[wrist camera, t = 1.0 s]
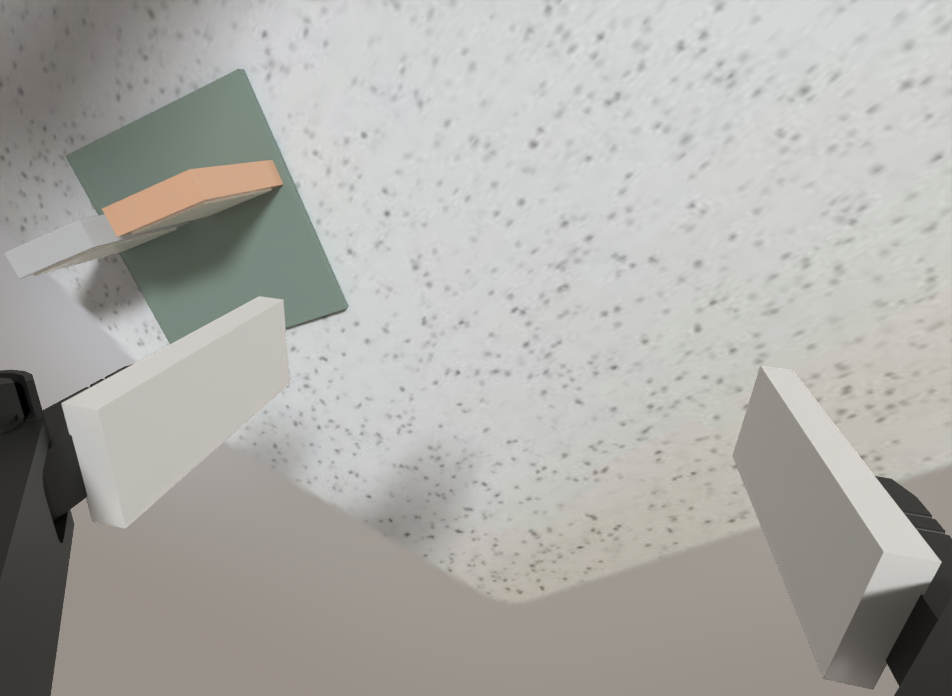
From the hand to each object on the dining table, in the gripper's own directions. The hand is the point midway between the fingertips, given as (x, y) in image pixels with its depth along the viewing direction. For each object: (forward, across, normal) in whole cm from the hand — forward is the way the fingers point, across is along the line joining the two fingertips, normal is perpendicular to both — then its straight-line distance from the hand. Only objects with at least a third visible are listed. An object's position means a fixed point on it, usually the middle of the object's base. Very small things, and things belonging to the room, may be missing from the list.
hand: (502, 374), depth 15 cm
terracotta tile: (+25, -24, 0) cm, 34 cm away
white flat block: (+25, -32, -4) cm, 40 cm away
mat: (+25, -27, -4) cm, 37 cm away
